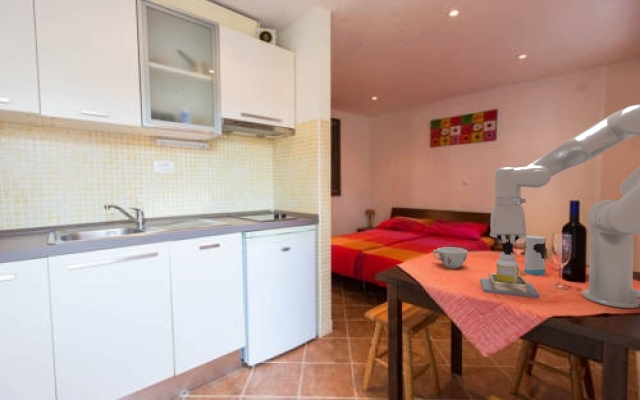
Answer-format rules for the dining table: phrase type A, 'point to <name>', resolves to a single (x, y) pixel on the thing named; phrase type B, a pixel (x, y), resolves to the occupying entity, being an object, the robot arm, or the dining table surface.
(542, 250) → the milk carton
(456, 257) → the teacup
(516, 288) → the beige square tray
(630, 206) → the robot arm
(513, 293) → the dock board
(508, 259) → the pill bottle
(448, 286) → the dining table surface
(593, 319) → the dining table surface
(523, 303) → the dining table surface
